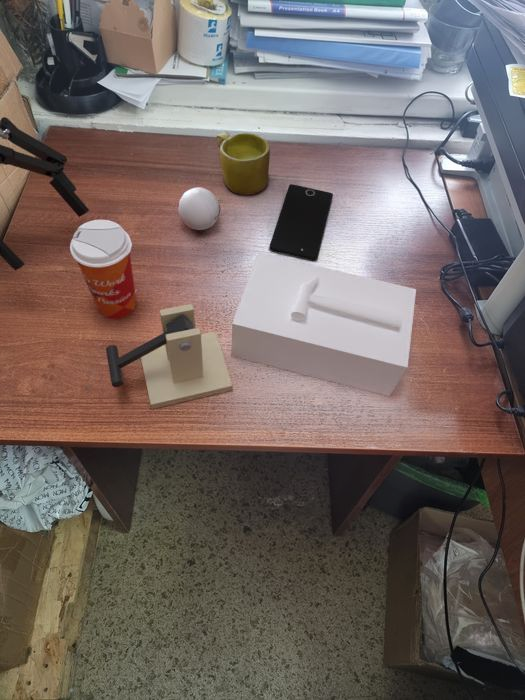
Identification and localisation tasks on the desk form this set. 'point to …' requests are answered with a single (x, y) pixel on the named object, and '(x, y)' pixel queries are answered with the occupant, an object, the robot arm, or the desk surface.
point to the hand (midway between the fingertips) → (53, 239)
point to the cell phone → (301, 222)
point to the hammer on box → (324, 323)
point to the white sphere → (199, 208)
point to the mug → (244, 162)
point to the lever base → (185, 364)
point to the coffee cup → (106, 266)
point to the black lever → (142, 349)
